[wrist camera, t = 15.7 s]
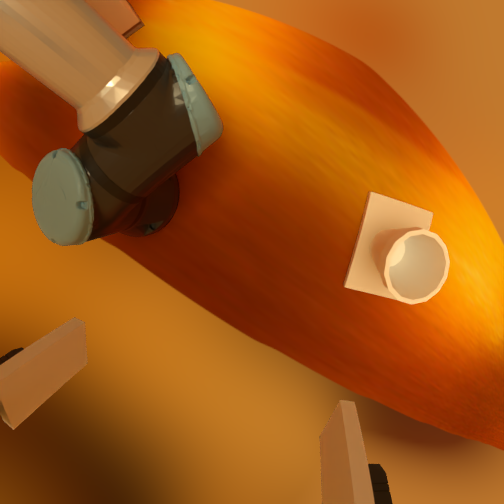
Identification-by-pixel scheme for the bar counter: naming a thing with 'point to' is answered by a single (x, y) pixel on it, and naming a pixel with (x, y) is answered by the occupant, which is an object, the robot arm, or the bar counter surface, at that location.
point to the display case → (118, 15)
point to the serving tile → (373, 221)
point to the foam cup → (410, 262)
